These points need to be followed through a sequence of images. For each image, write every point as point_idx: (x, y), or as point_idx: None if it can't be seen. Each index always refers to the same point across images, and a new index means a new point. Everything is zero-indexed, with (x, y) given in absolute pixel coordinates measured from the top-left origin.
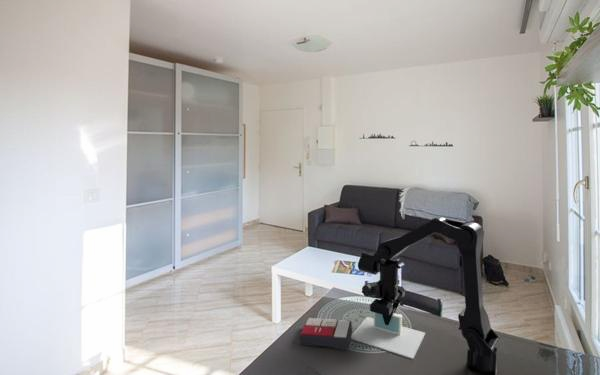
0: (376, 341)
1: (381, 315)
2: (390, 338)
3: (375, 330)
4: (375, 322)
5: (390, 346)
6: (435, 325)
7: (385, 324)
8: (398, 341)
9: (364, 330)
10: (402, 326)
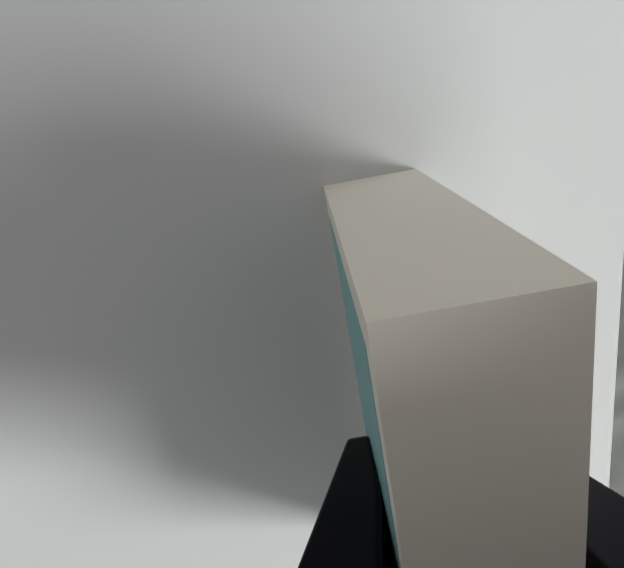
0: (17, 413)
1: (382, 481)
2: (226, 488)
3: (257, 260)
4: (337, 245)
5: (75, 556)
6: None
7: (350, 444)
8: (238, 565)
9: (112, 123)
10: (606, 464)
